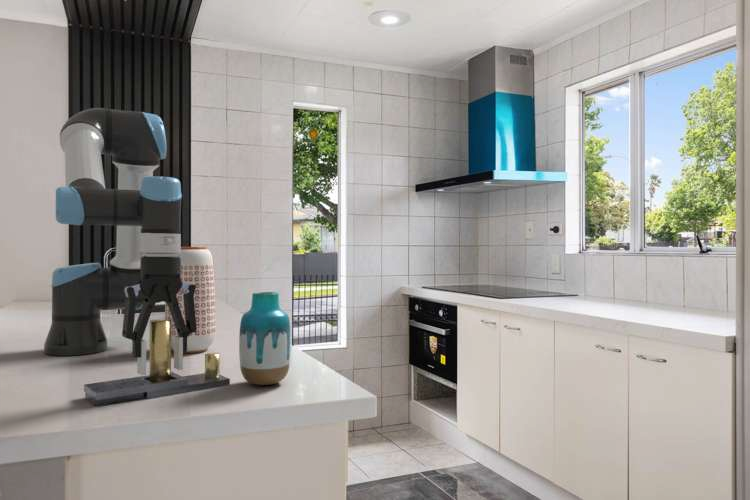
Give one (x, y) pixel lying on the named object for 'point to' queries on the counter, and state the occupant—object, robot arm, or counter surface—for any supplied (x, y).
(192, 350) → the vase
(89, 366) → the counter surface
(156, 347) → the pin
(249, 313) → the vase
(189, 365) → the counter surface
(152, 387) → the grey slide latch
